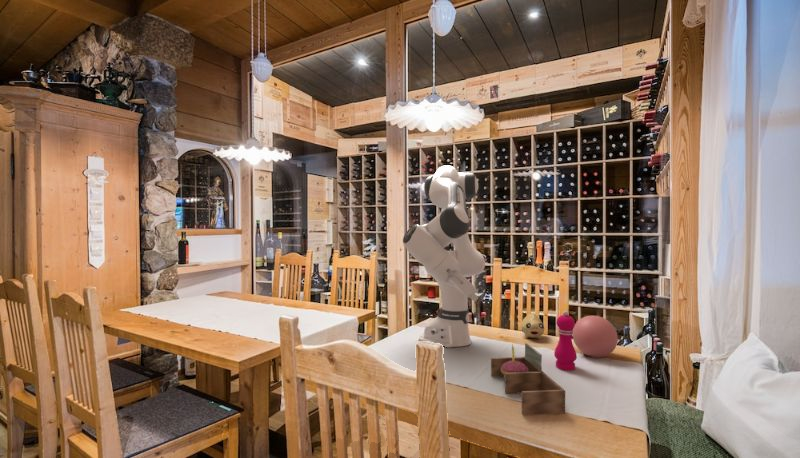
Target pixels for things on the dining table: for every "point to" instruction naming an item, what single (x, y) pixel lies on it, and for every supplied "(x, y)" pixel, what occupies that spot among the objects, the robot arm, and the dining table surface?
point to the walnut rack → (531, 384)
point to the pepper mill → (565, 343)
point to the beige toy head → (532, 326)
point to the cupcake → (513, 366)
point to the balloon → (595, 336)
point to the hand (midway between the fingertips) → (475, 299)
